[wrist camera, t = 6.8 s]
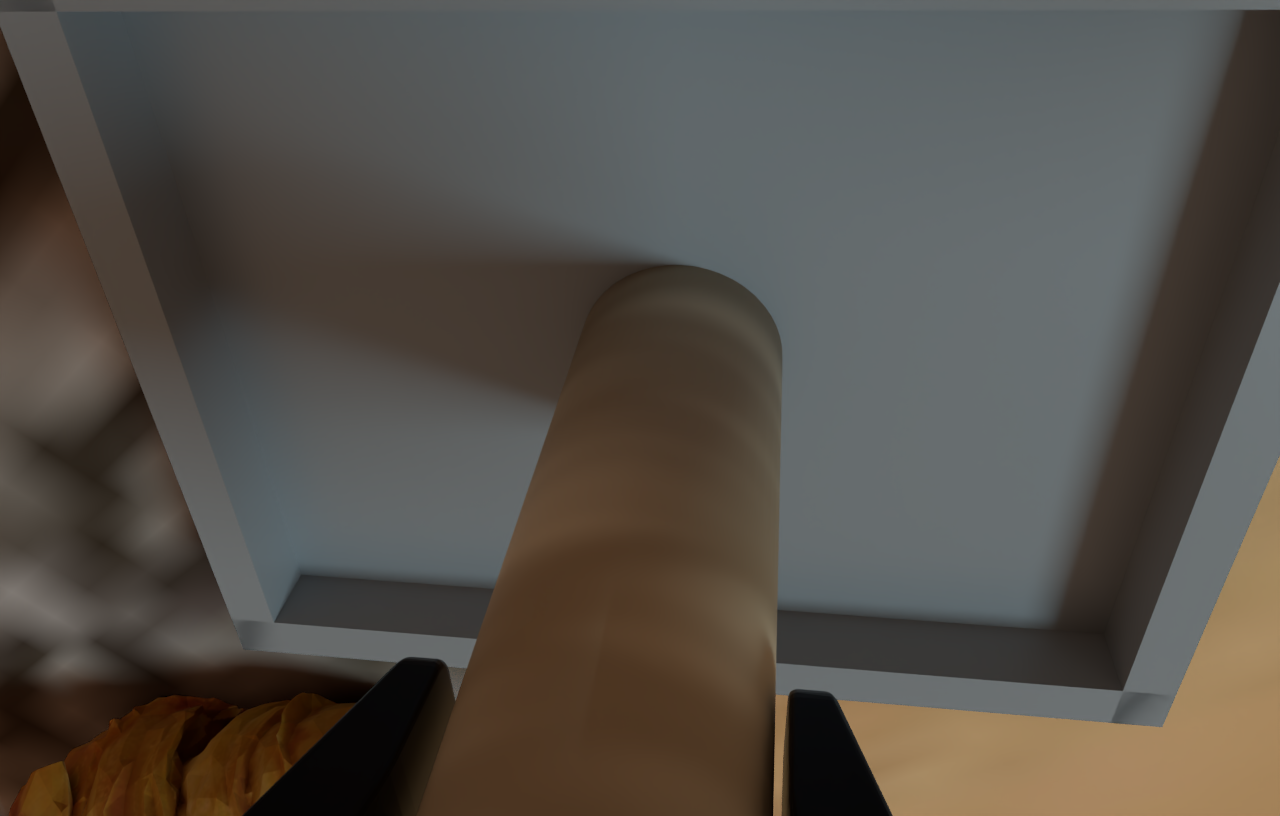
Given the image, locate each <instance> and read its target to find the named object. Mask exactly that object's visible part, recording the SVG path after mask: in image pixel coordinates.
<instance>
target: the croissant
mask: <svg viewBox="0 0 1280 816" xmlns="http://www.w3.org/2000/svg"><path fill="white" fill-rule="evenodd" d="M355 704H356V703H340V704H337V703H335V702H332V701H330V700H328V699H326V698H324V697H322V696H320V695H318V694H314V693H309V694H308V693H300V694H298V695H297V696H295V697H294V698H293V699H292V700H291V701H290V700H284V701H278V702H272V703H267V704H262V705H260V706H257V707H254V708H251V709H248V710H246V709H243V708H241V709H238V708H237V707H238V706H235V705H231V704H227V703H225V702H223V701H221V700H219V699H217V698H199V697H192V696H181V695H172V696H168V697H160V698H157V699H155V700H153V701H152V702H150V703H149V704H147V705H141V706H136V707H134V708H133V710H132V711H131V712H130V713H128V714H127V715H126V716H124V717H123V718H121V719H112V720H110V722H109V729H108V730H106V731H104V732H102V733H101V734H99V735H98V736H97V737H95V738H94V739H93V740H91V741H90V742H89V743H86V744H84V745H81V746H79V747H76V748H74V749H72V750H71V751H70V752H69V754H68V756H67V757H66V759H65V761H60V762H57V763H54V764H50V765H48V766H45V767H43V768H40V769H37V770H36V771H34V772H32V773H31V775H30V777H29V779H28V782H27V784H26V785H24V786H22V788H21V790H20V792H19V794H18V795H17V797H16V799H15V801H14V803H13V805H12V806H11V808H10V812H9V816H242V815H243V814H244V813H245V812H246V811H247V810H248V809H249V808H250V807H251V806H252V805H253V804H254V803H255V802H256V801H257V800H258V799H259V798H261V797H262V796H263V795H264V794H265V793H266V792H267V791H268V790H269V789H270V788H271V787H272V786H273V785H274V784H275V783H276V782H277V781H278V780H279V779H280V778H281V777H282V776H283V775H284V774H285V773H286V772H287V771H288V770H289V769H290V768H291V767H292V766H293V765H294V764H295V763H296V762H297V761H298V760H299V759H300V758H301V757H302V756H303V755H304V754H305V753H306V752H307V751H308V750H309V749H310V748H311V747H312V746H313V745H314V744H315V743H316V742H317V741H318V740H319V739H320V738H321V737H322V736H323V735H324V734H325V733H327V732H328V731H329V730H330V729H331V728H332V727H333V726H334V725H335V724H336V723H337V722H338V721H339V720H340V719H341V718H342V717H343V716H344V715H345V714H346V713H347V712H348V711H349V710H350V709H351V708H352V707H353V706H354V705H355Z"/></svg>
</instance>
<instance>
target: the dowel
mask: <svg viewBox="0 0 1280 816" xmlns="http://www.w3.org/2000/svg"><path fill="white" fill-rule="evenodd" d="M781 406H782V345H781V339H780V335H779V332H778V329H777V326H776V324H775V322H774V320H773V318H772V316H771V315H770V313H769V312H768V310H767V309H766V307H765V306H764V305H763V304H762V303H761V301H760V300H759V299H758V298H757V297H756V296H755V295H754V294H753V293H751V292H750V291H749V290H748V289H747V288H745V287H744V286H742V285H741V284H739V283H738V282H736V281H735V280H733V279H731V278H729V277H727V276H725V275H723V274H720V273H717V272H714V271H711V270H708V269H704V268H700V267H695V266H685V265H665V266H658V267H652V268H648V269H645V270H641V271H638V272H636V273H633V274H631V275H629V276H627V277H625V278H623V279H621V280H620V281H618V282H616V283H615V284H614V285H613V286H611V287H610V288H609V289H607V290H606V291H605V292H604V293H603V294H602V296H601V297H600V298H599V299H598V300H597V301H596V303H595V304H594V306H593V307H592V309H591V311H590V313H589V315H588V317H587V319H586V321H585V324H584V327H583V330H582V333H581V336H580V339H579V342H578V345H577V348H576V351H575V354H574V357H573V359H572V362H571V365H570V368H569V371H568V374H567V377H566V380H565V383H564V386H563V389H562V392H561V395H560V397H559V400H558V403H557V406H556V409H555V412H554V415H553V418H552V421H551V424H550V427H549V430H548V433H547V435H546V438H545V441H544V444H543V447H542V450H541V453H540V456H539V459H538V462H537V465H536V468H535V471H534V474H533V476H532V479H531V482H530V485H529V488H528V491H527V494H526V497H525V500H524V503H523V506H522V509H521V512H520V514H519V517H518V520H517V523H516V526H515V529H514V532H513V535H512V538H511V541H510V544H509V547H508V550H507V552H506V555H505V558H504V561H503V564H502V567H501V570H500V573H499V576H498V579H497V582H496V585H495V588H494V590H493V593H492V596H491V599H490V602H489V605H488V608H487V611H486V614H485V617H484V620H483V623H482V626H481V629H480V631H479V634H478V637H477V640H476V643H475V646H474V649H473V652H472V655H471V658H470V661H469V664H468V667H467V669H466V672H465V675H464V678H463V681H462V684H461V687H460V690H459V693H458V696H457V699H456V702H455V705H454V707H453V710H452V713H451V716H450V719H449V722H448V725H447V728H446V731H445V734H444V737H443V740H442V743H441V745H440V748H439V751H438V754H437V757H436V760H435V763H434V766H433V769H432V772H431V775H430V778H429V781H428V783H427V786H426V789H425V792H424V795H423V798H422V801H421V804H420V807H419V810H418V813H417V816H773V792H774V744H775V696H776V648H777V599H778V551H779V503H780V455H781Z"/></svg>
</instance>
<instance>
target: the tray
mask: <svg viewBox="0 0 1280 816" xmlns="http://www.w3.org/2000/svg"><path fill="white" fill-rule="evenodd" d="M0 27H1V30H2V32H3V35H4V37H5V40H6V43H7V45H8V48H9V50H10V53H11V55H12V58H13V61H14V63H15V66H16V68H17V71H18V73H19V76H20V78H21V81H22V84H23V86H24V89H25V91H26V94H27V96H28V99H29V101H30V104H31V107H32V109H33V112H34V114H35V117H36V119H37V122H38V124H39V127H40V130H41V132H42V135H43V137H44V140H45V142H46V145H47V148H48V150H49V153H50V155H51V158H52V160H53V163H54V165H55V168H56V171H57V173H58V176H59V178H60V181H61V183H62V186H63V188H64V191H65V194H66V196H67V199H68V201H69V204H70V206H71V209H72V211H73V214H74V217H75V219H76V222H77V224H78V227H79V229H80V232H81V235H82V237H83V240H84V242H85V245H86V247H87V250H88V252H89V255H90V258H91V260H92V263H93V265H94V268H95V270H96V273H97V275H98V278H99V281H100V283H101V286H102V288H103V291H104V293H105V296H106V298H107V301H108V304H109V306H110V309H111V311H112V314H113V316H114V319H115V322H116V324H117V327H118V329H119V332H120V334H121V337H122V339H123V342H124V345H125V347H126V350H127V352H128V355H129V357H130V360H131V362H132V365H133V368H134V370H135V373H136V375H137V378H138V380H139V383H140V386H141V388H142V391H143V393H144V396H145V398H146V401H147V403H148V406H149V409H150V411H151V414H152V416H153V419H154V421H155V424H156V426H157V429H158V432H159V434H160V437H161V439H162V442H163V444H164V447H165V449H166V452H167V455H168V457H169V460H170V462H171V465H172V467H173V470H174V473H175V475H176V478H177V480H178V483H179V485H180V488H181V490H182V493H183V496H184V498H185V501H186V503H187V506H188V508H189V511H190V513H191V516H192V519H193V521H194V524H195V526H196V529H197V531H198V534H199V536H200V539H201V542H202V544H203V547H204V549H205V552H206V554H207V557H208V560H209V562H210V565H211V567H212V570H213V572H214V575H215V577H216V580H217V583H218V585H219V588H220V590H221V593H222V595H223V598H224V600H225V603H226V606H227V608H228V611H229V613H230V616H231V618H232V621H233V623H234V626H235V629H236V631H237V634H238V636H239V639H240V641H241V644H242V647H243V649H246V650H257V651H269V652H281V653H293V654H305V655H316V656H328V657H340V658H352V659H364V660H376V661H387V662H399V661H400V660H402V659H404V658H406V657H422V658H434V659H440V660H443V661H444V662H445V663H446V665H447V667H458V668H467V667H468V664H469V661H470V658H471V655H472V652H473V649H474V646H475V643H476V640H477V637H478V634H479V631H480V629H481V626H482V623H483V620H484V617H485V614H486V611H487V608H488V605H489V602H490V599H491V596H492V593H493V590H494V588H495V585H496V582H497V579H498V576H499V573H500V570H501V567H502V564H503V561H504V558H505V555H506V552H507V550H508V547H509V544H510V541H511V538H512V535H513V532H514V529H515V526H516V523H517V520H518V517H519V514H520V512H521V509H522V506H523V503H524V500H525V497H526V494H527V491H528V488H529V485H530V482H531V479H532V476H533V474H534V471H535V468H536V465H537V462H538V459H539V456H540V453H541V450H542V447H543V444H544V441H545V438H546V435H547V433H548V430H549V427H550V424H551V421H552V418H553V415H554V412H555V409H556V406H557V403H558V400H559V397H560V395H561V392H562V389H563V386H564V383H565V380H566V377H567V374H568V371H569V368H570V365H571V362H572V359H573V357H574V354H575V351H576V348H577V345H578V342H579V339H580V336H581V333H582V330H583V327H584V324H585V321H586V319H587V317H588V315H589V313H590V311H591V309H592V307H593V306H594V304H595V303H596V301H597V300H598V299H599V298H600V297H601V296H602V294H603V293H604V292H605V291H606V290H607V289H609V288H610V287H611V286H613V285H614V284H615V283H616V282H618V281H620V280H621V279H623V278H625V277H627V276H629V275H631V274H633V273H636V272H638V271H641V270H645V269H648V268H652V267H658V266H665V265H685V266H695V267H700V268H704V269H708V270H711V271H714V272H717V273H720V274H723V275H725V276H727V277H729V278H731V279H733V280H735V281H736V282H738V283H739V284H741V285H742V286H744V287H745V288H747V289H748V290H749V291H750V292H751V293H753V294H754V295H755V296H756V297H757V298H758V299H759V300H760V301H761V303H762V304H763V305H764V306H765V307H766V309H767V310H768V312H769V313H770V315H771V316H772V318H773V320H774V322H775V324H776V326H777V329H778V332H779V335H780V339H781V345H782V406H781V455H780V503H779V551H778V599H777V648H776V694H777V695H789V693H790V692H791V691H792V690H794V689H805V690H816V691H827V692H830V693H831V694H833V695H834V697H835V698H836V700H848V701H860V702H872V703H884V704H896V705H907V706H919V707H931V708H943V709H955V710H966V711H978V712H990V713H1002V714H1014V715H1026V716H1037V717H1049V718H1061V719H1073V720H1085V721H1096V722H1108V723H1120V724H1132V725H1144V726H1156V727H1162V726H1163V724H1164V722H1165V719H1166V717H1167V715H1168V712H1169V710H1170V708H1171V705H1172V703H1173V701H1174V698H1175V696H1176V694H1177V691H1178V689H1179V687H1180V685H1181V682H1182V680H1183V678H1184V675H1185V673H1186V671H1187V668H1188V666H1189V664H1190V661H1191V659H1192V657H1193V654H1194V652H1195V650H1196V648H1197V645H1198V643H1199V641H1200V638H1201V636H1202V634H1203V631H1204V629H1205V627H1206V624H1207V622H1208V620H1209V617H1210V615H1211V613H1212V611H1213V608H1214V606H1215V604H1216V601H1217V599H1218V597H1219V594H1220V592H1221V590H1222V587H1223V585H1224V583H1225V581H1226V578H1227V576H1228V574H1229V571H1230V569H1231V567H1232V564H1233V562H1234V560H1235V557H1236V555H1237V553H1238V550H1239V548H1240V546H1241V544H1242V541H1243V539H1244V537H1245V534H1246V532H1247V530H1248V527H1249V525H1250V523H1251V520H1252V518H1253V516H1254V513H1255V511H1256V509H1257V507H1258V504H1259V502H1260V500H1261V497H1262V495H1263V493H1264V490H1265V488H1266V486H1267V483H1268V481H1269V479H1270V476H1271V474H1272V472H1273V470H1274V467H1275V465H1276V463H1277V460H1278V458H1279V456H1280V0H0Z"/></svg>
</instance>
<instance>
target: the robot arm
mask: <svg viewBox="0 0 1280 816" xmlns="http://www.w3.org/2000/svg"><path fill="white" fill-rule="evenodd" d="M455 702H456V701H455V697H454V692H453V688H452V683H451V679H450V674H449V670H448V667H447V665H446V663H445V662H444V661H443V660H440V659H434V658H422V657H406V658H404V659H402V660H400V661H399V662H398V663H397V664H396V665H395V666H394V667H393V668H392V669H390V670H389V671H388V672H387V673H386V674H385V675H384V676H383V677H382V678H381V679H380V680H379V681H378V682H377V683H376V684H375V685H374V686H373V687H372V688H371V689H370V690H369V691H368V692H367V693H366V694H365V695H364V696H363V697H362V698H361V699H360V700H359V701H358V702H357V703H356V704H355V705H354V706H353V707H352V708H351V709H350V710H349V711H348V712H347V713H346V714H345V715H344V716H343V717H342V718H341V719H340V720H339V721H338V722H337V723H336V724H335V725H334V726H333V727H332V728H331V729H330V730H329V731H328V732H327V733H325V734H324V735H323V736H322V737H321V738H320V739H319V740H318V741H317V742H316V743H315V744H314V745H313V746H312V747H311V748H310V749H309V750H308V751H307V752H306V753H305V754H304V755H303V756H302V757H301V758H300V759H299V760H298V761H297V762H296V763H295V764H294V765H293V766H292V767H291V768H290V769H289V770H288V771H287V772H286V773H285V774H284V775H283V776H282V777H281V778H280V779H279V780H278V781H277V782H276V783H275V784H274V785H273V786H272V787H271V788H270V789H269V790H268V791H267V792H266V793H265V794H264V795H263V796H262V797H261V798H259V799H258V800H257V801H256V802H255V803H254V804H253V805H252V806H251V807H250V808H249V809H248V810H247V811H246V812H245V813H244V814H243V815H242V816H417V813H418V810H419V807H420V804H421V801H422V798H423V795H424V792H425V789H426V786H427V783H428V781H429V778H430V775H431V772H432V769H433V766H434V763H435V760H436V757H437V754H438V751H439V748H440V745H441V743H442V740H443V737H444V734H445V731H446V728H447V725H448V722H449V719H450V716H451V713H452V710H453V707H454V705H455ZM782 816H893V815H892V813H891V811H890V809H889V807H888V805H887V803H886V801H885V799H884V797H883V795H882V792H881V790H880V788H879V786H878V784H877V782H876V780H875V778H874V776H873V774H872V772H871V770H870V768H869V765H868V763H867V761H866V759H865V757H864V755H863V753H862V751H861V749H860V747H859V745H858V743H857V740H856V738H855V736H854V734H853V732H852V730H851V728H850V726H849V724H848V722H847V720H846V718H845V716H844V713H843V711H842V709H841V707H840V705H839V703H838V701H837V700H836V698H835V697H834V695H833V694H831V693H830V692H827V691H816V690H805V689H794V690H792V691H791V692H790V693H789V696H788V704H787V716H786V728H785V740H784V757H783V787H782Z"/></svg>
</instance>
